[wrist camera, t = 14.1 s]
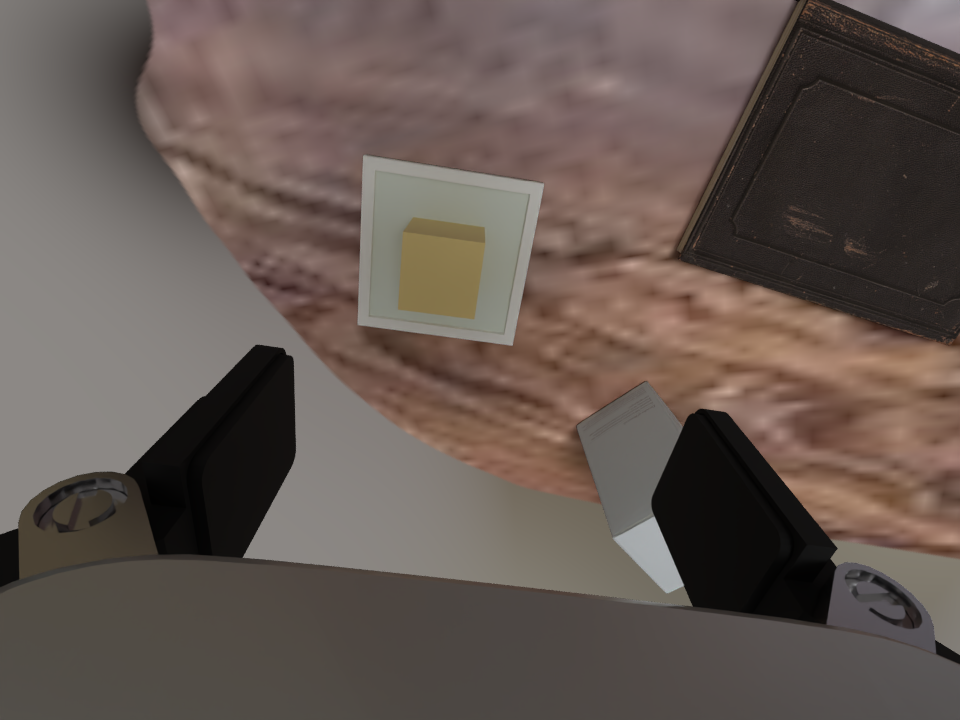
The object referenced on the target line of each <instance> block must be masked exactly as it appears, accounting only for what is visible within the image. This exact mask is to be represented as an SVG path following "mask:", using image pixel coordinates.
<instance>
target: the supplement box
mask: <svg viewBox="0 0 960 720" xmlns="http://www.w3.org/2000/svg"><path fill="white" fill-rule="evenodd" d="M682 428H683V427H682V425H681V424H680V422H679V421H678V420H677V418H676V417H675V416H674V414H673V413H672V412H671V410H670V409H669V408H668V407H667V405H666V404H665V403H664V402H663V400H662V399H661V398H660V397H659V395H658V394H657V393H656V392H655V390H654V389H653V388H652V387H651V385H650V384H649V383H648V382H644V383H642V384H641V385H639V386H637V387H636V388H634V389H633V390H631V391H629V392H628V393H626V394H625V395H623V396H622V397H620V398H618V399H617V400H615V401H614V402H612V403H610V404H609V405H607V406H606V407H604V408H603V409H601V410H599V411H598V412H596V413H595V414H593V415H592V416H590V417H588V418H587V419H585V420H584V421H582V422H581V423H579V424H578V425H577V430H578V434H579V437H580V440H581V443H582V446H583V449H584V452H585V455H586V458H587V461H588V464H589V467H590V470H591V473H592V476H593V479H594V482H595V485H596V488H597V491H598V494H599V497H600V500H601V503H602V506H603V509H604V512H605V516H606V519H607V522H608V525H609V528H610V531H611V534H612V538H613V539H614V540H615V542H616V543H617V544H618V545H619V546H620V547H621V548H622V549H623V550H624V551H625V552H626V553H627V554H628V555H629V556H630V557H631V558H632V559H633V560H634V561H635V562H636V563H637V564H638V565H639V566H640V567H641V568H642V569H643V570H644V571H645V572H646V573H647V574H648V575H649V576H650V577H651V578H652V579H653V580H654V581H655V582H656V583H657V584H658V586H659V587H661V589H662V590H664V592H665V593H670V592H672V591H674V590H676V589H678V588H680V587H682V586H684V584H683V582H682V580H681V577H680V575H679V573H678V570H677V568H676V566H675V563H674V561H673V559H672V556H671V554H670V552H669V549H668V547H667V545H666V542H665V540H664V538H663V535H662V533H661V531H660V528H659V526H658V524H657V521H656V519H655V516H654V514H653V512H652V507H651V500H652V496H653V493H654V491H655V489H656V487H657V484H658V482H659V480H660V478H661V475H662V473H663V471H664V469H665V466H666V464H667V462H668V460H669V457H670V455H671V453H672V451H673V449H674V446H675V444H676V442H677V440H678V437H679V435H680V433H681V431H682Z"/></svg>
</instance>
